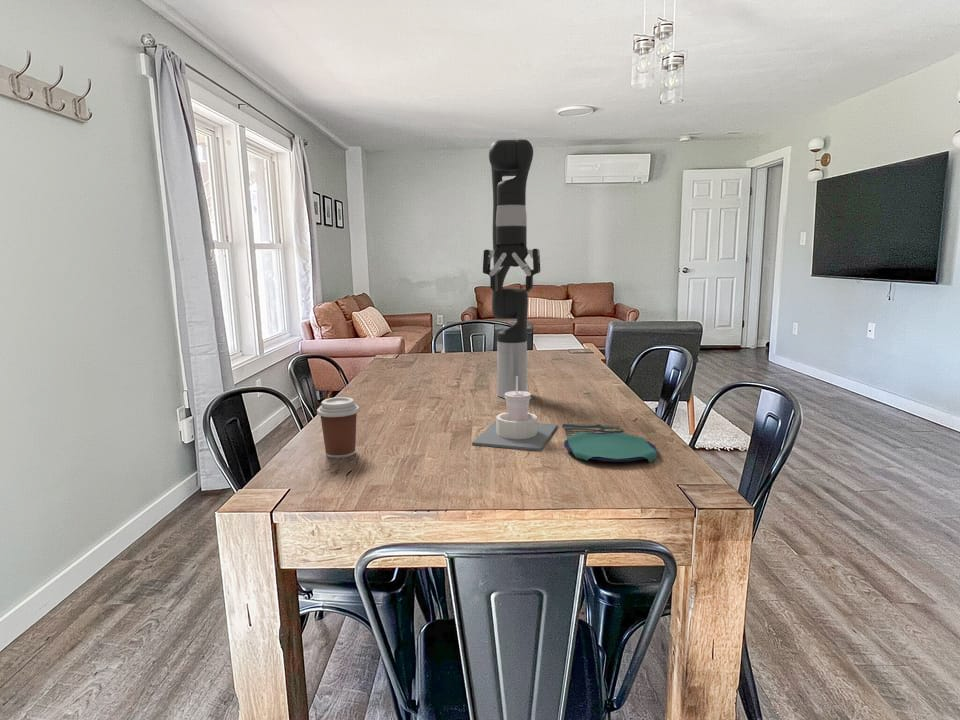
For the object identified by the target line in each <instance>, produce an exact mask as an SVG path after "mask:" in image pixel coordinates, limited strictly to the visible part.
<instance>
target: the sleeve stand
mask: <svg viewBox="0 0 960 720" xmlns="http://www.w3.org/2000/svg"><path fill="white" fill-rule="evenodd" d="M495 416H496V417H495V418H496V419H495V421H494V422H492V424H490V425H489V426H488V427H486V429H485V430H483V432H482V433H480V434H479V435H478V436H477V437H476V438H475V439H474V440H472V442H471V445H472V446H481V447H491V448H492V447H493V448H503V449H505V448H506V449H512V450H513V449H514V450H525V451H526V450H527V451H537V452H541V451H542V449H543V448H544V447H545V445H546V443H547V442H548V440H549V439H550V438H551V436H552V435H553V433H554V432H555V431H556V429H557V428H558V424H557V423H546V422H545V423H544V422H538V416H537V415H536V414H534V413H531V412H528V414H527V421H518V422H516V421H508V414H507V412H502V413H499V414H497V415H495Z"/></svg>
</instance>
